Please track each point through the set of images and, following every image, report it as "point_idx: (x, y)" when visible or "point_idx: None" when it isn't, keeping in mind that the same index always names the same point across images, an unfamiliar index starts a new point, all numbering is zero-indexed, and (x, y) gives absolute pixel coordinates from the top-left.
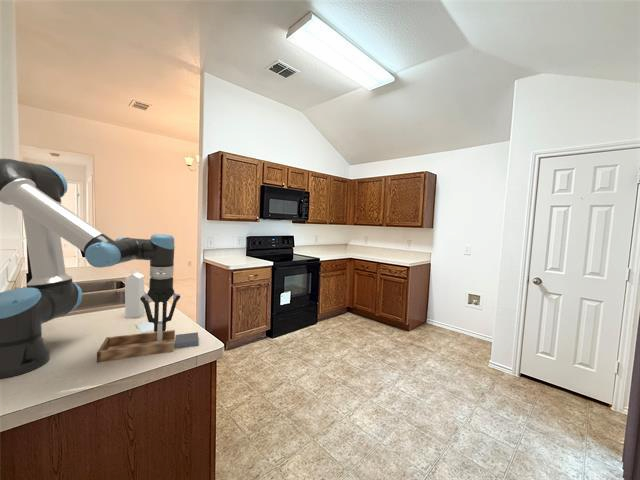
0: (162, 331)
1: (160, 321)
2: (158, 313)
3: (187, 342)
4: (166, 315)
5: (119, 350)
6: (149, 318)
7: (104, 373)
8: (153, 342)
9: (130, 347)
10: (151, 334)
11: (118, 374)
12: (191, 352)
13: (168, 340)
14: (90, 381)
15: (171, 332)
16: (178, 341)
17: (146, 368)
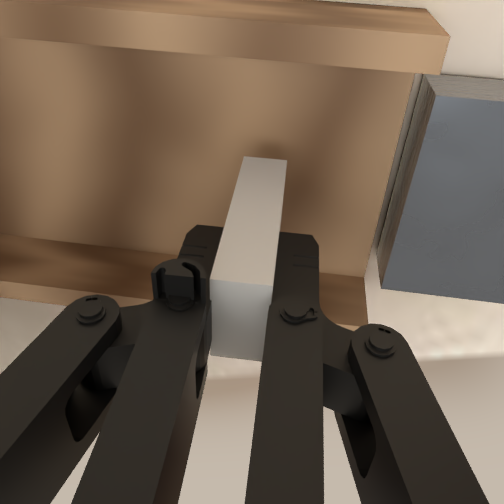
0: (282, 195)
1: (240, 294)
2: (180, 426)
3: (484, 299)
4: (322, 369)
5: (5, 293)
6: (82, 414)
7: (28, 330)
8: (212, 64)
9: (63, 295)
10: (167, 46)
11: None
12: (477, 314)
13: (354, 71)
14: (3, 362)
15: (397, 65)
16: (420, 262)
17: (211, 366)
